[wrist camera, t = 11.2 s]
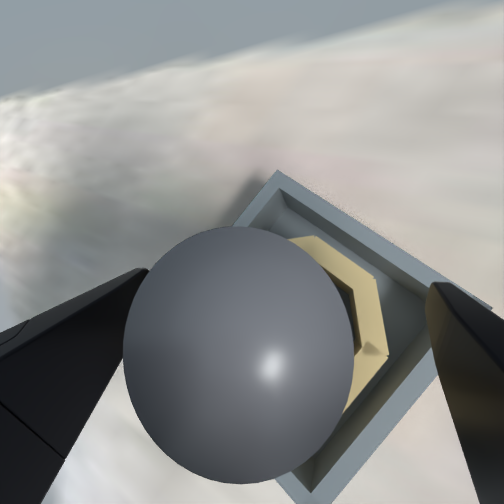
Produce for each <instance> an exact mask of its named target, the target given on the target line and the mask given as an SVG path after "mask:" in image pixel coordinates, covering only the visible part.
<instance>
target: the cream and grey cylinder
mask: <svg viewBox="0 0 504 504" xmlns="http://www.w3.org/2000/svg"><path fill="white" fill-rule="evenodd" d="M123 365H124V374H125V380H126V385H127V389H128V392H129V396H130V399H131V402H132V404H133V407H134V409H135V411H136V414H137V416H138V418H139V420H140V421H141V423H142V425H143V427H144V428H145V430H146V431H147V433H148V434H149V435H150V437H151V438H152V440H153V441H154V442H155V443H156V444H157V445H158V446H159V448H160V449H161V450H162V451H163V452H164V453H165V454H166V455H168V456H169V457H170V458H171V459H173V460H174V461H175V462H176V463H177V464H179V465H180V466H182V467H184V468H186V469H187V470H189V471H191V472H192V473H195V474H197V475H199V476H202V477H204V478H207V479H210V480H214V481H218V482H222V483H232V484H250V483H259V482H263V481H267V480H271V479H274V478H277V477H279V476H281V475H284V474H286V473H288V472H290V471H292V470H294V469H295V468H297V467H298V466H300V465H301V464H303V463H304V462H306V461H307V460H308V459H309V458H310V457H311V456H312V455H314V454H315V453H316V452H317V451H318V450H319V449H320V448H321V446H322V445H323V444H324V443H325V442H326V440H327V439H328V438H329V437H330V435H331V434H332V432H333V430H334V429H335V427H336V425H337V424H338V422H339V420H340V418H341V416H342V413H343V411H344V408H345V406H346V404H347V401H348V397H349V393H350V389H351V385H352V379H353V370H354V343H353V337H352V330H351V325H350V322H349V318H348V315H347V311H346V308H345V306H344V304H343V301H342V299H341V297H340V294H339V292H338V291H337V289H336V287H335V285H334V284H333V282H332V280H331V279H330V277H329V276H328V275H327V273H326V272H325V271H324V270H323V268H322V267H321V266H320V265H319V264H318V263H317V262H316V261H315V260H314V259H313V258H312V257H311V256H310V255H309V254H308V253H307V252H305V251H304V250H303V249H301V248H300V247H299V246H297V245H296V244H295V243H293V242H291V241H289V240H287V239H286V238H284V237H282V236H279V235H277V234H274V233H272V232H269V231H265V230H261V229H257V228H252V227H242V226H235V227H222V228H216V229H211V230H208V231H205V232H201V233H199V234H196V235H194V236H192V237H190V238H188V239H186V240H184V241H183V242H181V243H179V244H178V245H176V246H175V247H174V248H172V249H171V250H170V251H168V252H167V253H166V254H165V255H164V256H163V257H162V258H161V259H160V260H159V261H158V262H157V263H156V264H155V265H154V266H153V268H152V269H151V270H150V271H149V273H148V274H147V275H146V277H145V279H144V280H143V282H142V283H141V285H140V287H139V289H138V291H137V293H136V295H135V297H134V299H133V302H132V305H131V307H130V310H129V314H128V318H127V322H126V326H125V332H124V340H123Z"/></svg>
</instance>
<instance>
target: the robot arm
mask: <svg viewBox="0 0 504 504" xmlns="http://www.w3.org/2000/svg"><path fill="white" fill-rule="evenodd" d="M148 273H149V270H148V269H146V268H136V269H134V270H131V271H129V272H127V273H125V274H123V275H121V276H119V277H117V278H115V279H113V280H110V281H108V282H106V283H104V284H102V285H100V286H98V287H96V288H94V289H92V290H90V291H87V292H85V293H83V294H81V295H79V296H77V297H75V298H73V299H71V300H69V301H66V302H64V303H62V304H60V305H58V306H56V307H54V308H52V309H50V310H48V311H45V312H43V313H41V314H39V315H37V316H35V317H33V318H31V319H30V320H26V321H24V322H22V323H20V324H18V325H16V326H14V327H12V328H9V329H7V330H5V331H3V332H1V333H0V504H41V502H42V501H43V499H44V497H45V495H46V494H47V492H48V490H49V488H50V486H51V485H52V483H53V481H54V479H55V478H56V476H57V474H58V472H59V471H60V469H61V467H62V465H63V463H64V462H65V459H66V458H67V456H68V454H69V452H70V451H71V449H72V447H73V445H74V444H75V442H76V440H77V438H78V436H79V435H80V433H81V431H82V429H83V428H84V426H85V424H86V422H87V420H88V419H89V417H90V415H91V413H92V412H93V410H94V408H95V406H96V405H97V403H98V401H99V399H100V397H101V396H102V394H103V392H104V390H105V389H106V387H107V385H108V383H109V382H110V380H111V378H112V376H113V374H114V373H115V371H116V369H117V367H118V366H119V364H120V362H121V360H122V359H123V340H124V332H125V326H126V322H127V318H128V314H129V310H130V307H131V305H132V302H133V299H134V297H135V295H136V293H137V291H138V289H139V287H140V285H141V283H142V282H143V280H144V279H145V277H146V275H147V274H148ZM425 314H426V320H427V325H428V330H429V336H430V341H431V346H432V352H433V357H434V362H435V366H436V369H437V373H438V376H439V379H440V382H441V385H442V388H443V391H444V394H445V397H446V400H447V404H448V407H449V410H450V413H451V416H452V419H453V422H454V425H455V428H456V431H457V435H458V438H459V441H460V444H461V447H462V450H463V453H464V456H465V459H466V462H467V466H468V469H469V472H470V475H471V478H472V481H473V484H474V487H475V490H476V494H477V497H478V500H479V503H480V504H504V320H503V319H502V318H500V317H499V316H497V315H496V314H495V313H493V312H492V311H490V310H489V309H488V308H486V307H485V306H483V305H482V304H481V303H479V302H478V301H476V300H475V299H473V298H472V297H471V296H469V295H468V294H466V293H465V292H464V291H462V290H461V289H459V288H458V287H456V286H455V285H454V284H452V283H450V282H439V281H434V282H432V283H431V284H430V287H429V291H428V295H427V299H426V303H425Z"/></svg>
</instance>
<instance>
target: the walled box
mask: <svg viewBox="0 0 504 504" xmlns="http://www.w3.org/2000/svg"><path fill="white" fill-rule="evenodd" d="M235 226H242V227H252V228H257V229H261V230H265V231H269V232H272V233H274V234H277V235H279V236H282V237H284V238H286V239H287V240H289V241H291V242H293V243H295V244H296V245H297V246H299V247H300V248H301V249H303V250H304V251H305V252H307V253H308V254H309V255H310V256H311V257H312V258H313V259H314V260H315V261H316V262H317V263H318V264H319V265H320V266H321V267H322V268H323V270H324V271H325V272H326V273H327V275H328V276H329V277H330V279H331V280H332V282H333V284H334V285H335V287H336V289H337V291H338V292H339V294H340V297H341V299H342V301H343V304H344V306H345V308H346V311H347V315H348V318H349V322H350V325H351V330H352V337H353V343H354V370H353V379H352V385H351V389H350V393H349V397H348V401H347V404H346V406H345V408H344V411H343V413H342V416H341V418H340V420H339V422H338V424H337V425H336V427H335V429H334V430H333V432H332V434H331V435H330V437H329V438H328V439H327V440H326V442H325V443H324V444H323V445H322V446H321V448H320V449H319V450H318V451H317V452H316V453H315V454H314V455H312V456H311V457H310V458H309V459H308V460H307V461H306V462H304V463H303V464H301V465H300V466H298V467H297V468H295V469H294V470H292V471H290V472H288V473H286V474H284V475H281V476H279V477H277V478H274V479H275V480H276V481H277V482H278V483H279V485H280V486H281V487H282V488H283V489H284V490H285V492H286V493H287V494H288V495H289V496H290V497H291V499H292V500H293V501H294V502H295V503H296V504H331V503H332V502H333V501H334V500H335V499H336V497H337V496H338V495H339V494H340V492H341V491H342V490H343V489H344V488H345V486H346V485H347V484H348V483H349V482H350V480H351V479H352V478H353V477H354V476H355V474H356V473H357V472H358V471H359V469H360V468H361V467H362V466H363V465H364V463H365V462H366V461H367V460H368V459H369V457H370V456H371V455H372V454H373V453H374V451H375V450H376V449H377V448H378V446H379V445H380V444H381V443H382V442H383V440H384V439H385V438H386V437H387V436H388V434H389V433H390V432H391V431H392V430H393V428H394V427H395V426H396V425H397V423H398V422H399V421H400V420H401V419H402V417H403V416H404V415H405V414H406V413H407V411H408V410H409V409H410V408H411V406H412V405H413V404H414V403H415V402H416V400H417V399H418V398H419V397H420V396H421V394H422V393H423V392H424V391H425V390H426V388H427V387H428V386H429V385H430V383H431V382H432V381H433V380H434V379H435V377H436V376H437V375H438V373H437V369H436V366H435V362H434V357H433V352H432V346H431V341H430V336H429V330H428V325H427V320H426V314H425V303H426V299H427V295H428V291H429V287H430V284H431V283H432V282H434V281H439V282H450V283H452V284H454V285H455V286H456V287H458V288H459V289H461V290H462V291H464V292H465V293H466V294H468V295H469V296H471V297H472V298H473V299H475V300H476V301H478V302H479V303H481V304H482V305H483V306H485V307H486V308H488V309H489V310H490V311H491V310H492V307H491V306H489V305H488V304H486V303H485V302H483V301H482V300H480V299H478V298H477V297H475V296H474V295H472V294H471V293H469V292H468V291H466V290H464V289H463V288H461V287H460V286H458V285H457V284H455V283H453V282H452V281H450V280H449V279H447V278H446V277H444V276H443V275H441V274H439V273H438V272H436V271H435V270H433V269H432V268H430V267H428V266H427V265H425V264H424V263H422V262H421V261H419V260H418V259H416V258H414V257H413V256H411V255H410V254H408V253H407V252H405V251H403V250H402V249H400V248H399V247H397V246H396V245H394V244H393V243H391V242H389V241H388V240H386V239H385V238H383V237H382V236H380V235H379V234H377V233H375V232H374V231H372V230H371V229H369V228H368V227H366V226H364V225H363V224H361V223H360V222H358V221H357V220H355V219H354V218H352V217H350V216H349V215H347V214H346V213H344V212H343V211H341V210H339V209H338V208H336V207H335V206H333V205H332V204H330V203H329V202H327V201H325V200H324V199H322V198H321V197H319V196H318V195H316V194H314V193H313V192H311V191H310V190H308V189H307V188H305V187H304V186H302V185H300V184H299V183H297V182H296V181H294V180H293V179H291V178H290V177H288V176H286V175H285V174H283V173H282V172H280V171H279V170H276V172H275V173H274V174H273V175H272V177H271V178H270V179H269V180H268V182H267V183H266V184H265V185H264V187H263V188H262V189H261V190H260V192H259V193H258V194H257V195H256V197H255V198H254V199H253V200H252V202H251V203H250V204H249V205H248V207H247V208H246V209H245V210H244V212H243V213H242V214H241V215H240V217H239V218H238V219H237V220H236V222H235V223H234V224H233V225H232V227H235Z"/></svg>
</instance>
